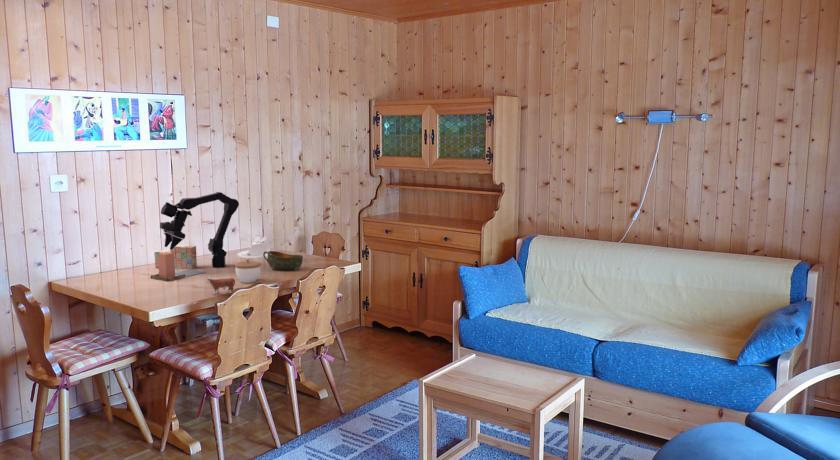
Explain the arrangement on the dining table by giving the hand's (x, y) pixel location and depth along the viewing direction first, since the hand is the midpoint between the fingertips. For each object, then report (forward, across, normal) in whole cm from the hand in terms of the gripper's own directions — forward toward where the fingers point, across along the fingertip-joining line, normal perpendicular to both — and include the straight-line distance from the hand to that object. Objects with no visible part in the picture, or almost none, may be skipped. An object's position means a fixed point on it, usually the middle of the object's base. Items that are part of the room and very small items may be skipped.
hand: (168, 248), depth 354 cm
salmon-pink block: (+14, +13, +1) cm, 19 cm away
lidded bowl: (+2, +45, +29) cm, 53 cm away
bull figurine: (+10, +62, +10) cm, 63 cm away
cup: (-10, +29, +53) cm, 61 cm away
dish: (-13, -22, +60) cm, 65 cm away
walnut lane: (+14, +13, +1) cm, 19 cm away
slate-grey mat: (+9, +8, +13) cm, 17 cm away
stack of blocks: (+9, -11, +12) cm, 19 cm away
